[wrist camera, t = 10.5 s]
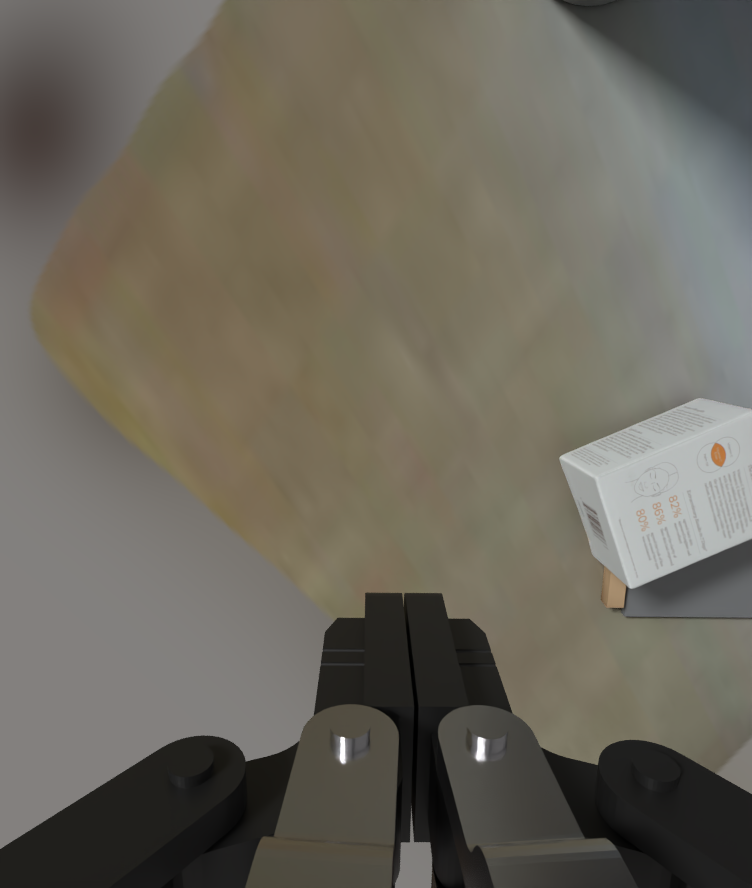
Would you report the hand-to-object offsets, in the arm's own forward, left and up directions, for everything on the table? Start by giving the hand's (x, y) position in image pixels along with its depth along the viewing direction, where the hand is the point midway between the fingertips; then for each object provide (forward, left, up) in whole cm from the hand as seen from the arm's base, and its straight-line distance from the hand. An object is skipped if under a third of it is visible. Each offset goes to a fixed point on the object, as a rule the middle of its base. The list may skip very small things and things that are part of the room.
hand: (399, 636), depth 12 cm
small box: (+7, +14, -26) cm, 31 cm away
